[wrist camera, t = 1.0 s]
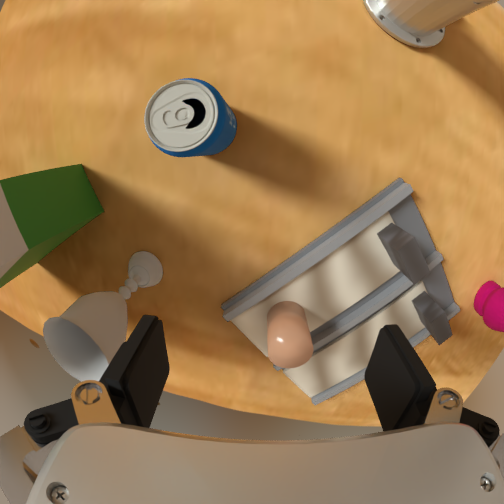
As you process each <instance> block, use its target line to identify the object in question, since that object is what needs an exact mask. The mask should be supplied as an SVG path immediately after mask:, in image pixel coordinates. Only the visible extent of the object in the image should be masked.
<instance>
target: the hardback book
mask: <svg viewBox="0 0 504 504" xmlns="http://www.w3.org/2000/svg"><path fill="white" fill-rule="evenodd" d="M103 212H104V210H103V208H102V206H101V204H100V202H99V200H98V198H97V196H96V194H95V192H94V190H93V188H92V186H91V184H90V182H89V180H88V177H87V175H86V173H85V171H84V169H83V167H82V164H78V165H72V166H66V167H60V168H54V169H49V170H44V171H39V172H34V173H29V174H24V175H20V176H16V177H11V178H7V179H3V180H0V288H1V287H2V286H4V285H5V284H6V283H8V282H9V281H11V280H12V279H14V278H15V277H17V276H18V275H20V274H21V273H22V272H24V271H25V270H27V269H29V268H30V267H32V266H33V265H35V264H36V263H38V262H39V261H40V260H41V259H42V258H44V257H45V256H46V255H47V254H48V253H50V252H51V251H52V250H53V249H55V248H56V247H57V246H58V245H60V244H61V243H62V242H63V241H65V240H66V239H67V238H69V237H70V236H71V235H72V234H74V233H75V232H76V231H78V230H79V229H80V228H82V227H83V226H84V225H86V224H87V223H89V222H90V221H91V220H93V219H94V218H96V217H97V216H98V215H100V214H101V213H103Z"/></svg>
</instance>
